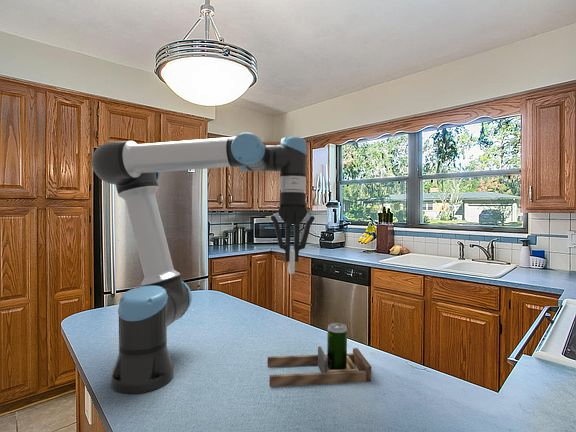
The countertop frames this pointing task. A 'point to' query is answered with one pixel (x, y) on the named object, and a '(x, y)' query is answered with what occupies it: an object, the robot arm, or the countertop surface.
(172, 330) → the countertop surface
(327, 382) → the tray
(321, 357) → the wooden square tray
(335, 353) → the beer can
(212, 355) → the countertop surface
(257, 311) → the countertop surface
